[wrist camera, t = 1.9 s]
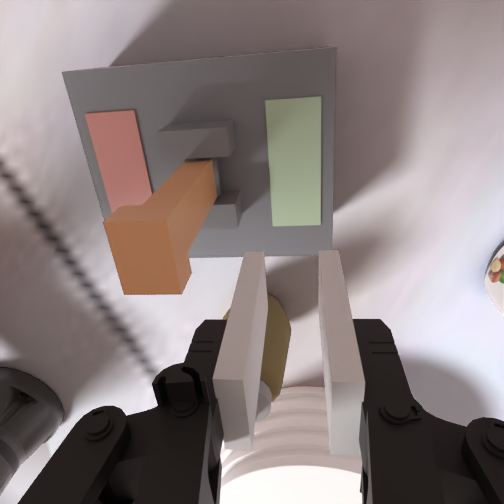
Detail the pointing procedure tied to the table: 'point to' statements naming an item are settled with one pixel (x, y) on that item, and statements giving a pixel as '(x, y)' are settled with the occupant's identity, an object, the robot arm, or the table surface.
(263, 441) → the plate stack
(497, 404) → the table surface
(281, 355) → the squeeze bottle
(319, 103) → the switch block
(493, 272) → the spread jar
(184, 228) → the breaker lever
